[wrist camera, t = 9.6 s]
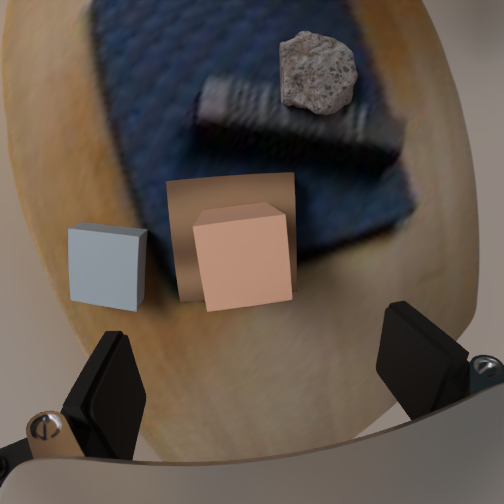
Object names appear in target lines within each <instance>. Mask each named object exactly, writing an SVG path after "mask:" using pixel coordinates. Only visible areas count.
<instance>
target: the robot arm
mask: <svg viewBox="0 0 504 504" xmlns="http://www.w3.org/2000/svg"><path fill="white" fill-rule="evenodd" d="M468 355H469V352H468V351H467V350H465V349H464V348H463V347H462V346H461V345H459V344H458V343H457V342H456V341H455V340H453V339H452V338H451V337H450V336H448V335H447V334H446V333H445V332H444V331H442V330H441V329H440V328H439V327H437V326H436V325H435V324H434V323H432V322H431V321H430V320H429V319H427V318H426V317H425V316H424V315H422V314H421V313H420V312H419V311H417V310H416V309H415V308H413V307H412V306H411V305H410V304H408V303H407V302H406V301H399V302H394V303H391V304H390V305H389V307H388V308H386V310H385V315H384V322H383V328H382V334H381V340H380V346H379V352H378V357H377V362H376V371H377V373H378V375H379V376H380V377H381V379H382V380H383V382H384V383H385V384H386V386H387V387H388V388H389V390H390V391H391V392H392V394H393V395H394V397H395V398H396V399H397V401H398V402H399V403H400V405H401V406H402V408H403V409H404V410H405V412H406V413H407V415H408V416H409V417H410V419H411V421H409V422H406V423H403V424H400V425H397V426H394V427H392V428H388V429H385V430H382V431H379V432H376V433H373V434H369V435H366V436H363V437H359V438H355V439H352V440H348V441H344V442H340V443H336V444H332V445H328V446H323V447H319V448H314V449H309V450H304V451H298V452H293V453H287V454H280V455H274V456H266V457H258V458H249V459H239V460H227V461H209V462H152V461H133V460H132V459H133V455H134V450H135V445H136V441H137V436H138V432H139V428H140V424H141V420H142V416H143V411H144V407H145V403H146V393H145V389H144V387H143V384H142V381H141V377H140V374H139V371H138V368H137V365H136V362H135V358H134V355H133V352H132V348H131V345H130V341H129V338H128V336H127V335H124V334H123V332H122V331H106V332H105V333H104V335H103V336H102V338H101V339H100V341H99V343H98V344H97V346H96V348H95V349H94V351H93V353H92V354H91V356H90V358H89V359H88V361H87V363H86V365H85V366H84V368H83V370H82V371H81V373H80V375H79V377H78V378H77V380H76V382H75V384H74V386H73V387H72V389H71V391H70V393H69V395H68V397H67V398H66V400H65V402H64V404H63V408H62V410H61V412H60V413H59V412H56V411H44V412H40V413H38V414H36V415H35V416H33V417H32V418H31V419H30V421H29V422H28V423H27V426H26V435H27V438H24V439H22V440H20V441H18V442H15V443H13V444H10V445H8V446H6V447H3V448H1V449H0V504H504V365H503V364H502V362H501V361H500V360H498V359H497V358H495V357H493V356H489V355H479V356H475V357H473V358H472V360H471V361H470V363H469V362H468V361H467V358H468Z"/></svg>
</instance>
